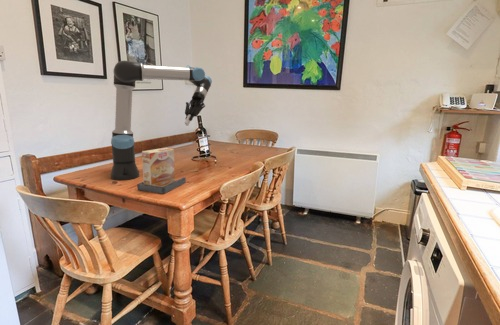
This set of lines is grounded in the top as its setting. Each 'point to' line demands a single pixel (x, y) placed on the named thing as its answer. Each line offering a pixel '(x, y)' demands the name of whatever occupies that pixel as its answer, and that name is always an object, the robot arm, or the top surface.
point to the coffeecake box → (158, 167)
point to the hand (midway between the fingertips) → (186, 124)
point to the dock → (161, 189)
